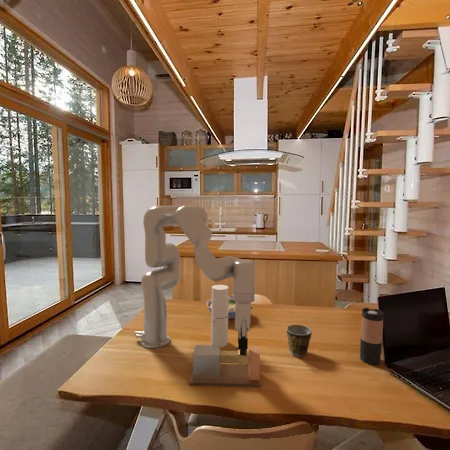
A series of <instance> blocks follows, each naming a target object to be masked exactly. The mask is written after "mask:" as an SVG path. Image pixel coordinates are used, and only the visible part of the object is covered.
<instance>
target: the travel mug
mask: <svg viewBox="0 0 450 450" xmlns="http://www.w3.org/2000/svg"><path fill="white" fill-rule="evenodd" d="M360 326H361V327H360V339H359V340H360V342H359V343H360V345H359V347H360V348H359V358H360V361H361V360H362V361H361V362H363V361H364V362H365V363H364V362H363V363H364V364H366V363H368V364H367V365H369V364H372V365H371V366H378V365H380V364H379V363H381V356H382V348H383V347H382V345H383V335H384V334H383V332H384V329H383V328H384V311H383V310H380V309H377V308H374V309H370V308H369V307H365V308H362V311H361V325H360ZM377 364H378V365H377Z"/></svg>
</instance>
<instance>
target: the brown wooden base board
mask: <svg viewBox="0 0 450 450" xmlns="http://www.w3.org/2000/svg"><path fill="white" fill-rule="evenodd" d="M220 351H221V347H220V345H212V344H195V347H194V350H193V355H192V357H193V359H192V360H193V361H192V369H191V373H190V378H189V382H188V385H189V386H195V387H196V386H198V387H200V386H201V387H229V388H230V387H234V388H235V387H237V388H261V385H262V384H261V379H260V378H259V380H250V377H249V364H230V363H220Z"/></svg>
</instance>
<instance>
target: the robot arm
mask: <svg viewBox="0 0 450 450" xmlns="http://www.w3.org/2000/svg"><path fill="white" fill-rule="evenodd" d="M143 215H144V216H143V230H144V236H145V238H144V239H145V240H144V242H145V243H144V255H145V256H144V258H145V259H144V262H145V264H146V266H147V267H149V268H151V269H153V268H154V269H153V270H150V271H148V272H146V273H145V274H144V275H143V276H142V277H141V280H140V283H141V289H142V295H143V330H142V331H140V330H138V331H137V330H135V331H134V336H135V339H140V345H141V346H142V347H144V348H147V349H159V348H162V347H165V346H167V345H168V344H169V343H170V342H171V337H170V335H168V333H167V332H168V331H167V330H168V329H167V324H168V323H167V318H168V317H167V316H168V315H167V299H166V297H165V295H164V293H163V292H164V291H166V290H169V289H172V288H174V287H176V286H177V285H178V284H179V282H180V272H181V271H180V269H181V267H180V266H181V263H180V262H181V257H180V255H181V254H180V251H179V250H180V249H179V248H178V247H177V245H176V244H174V243H169V242H167V241H166V240H167V239H166V237H167V235H166V233H165V230H164V228H163V227H174V226H178V227H179V228H180V229H181V231H182V232H183V233H184V234H185V236H186V237H187V238H188V239H189V241H190V242H191V244H192V245H193V254H194V258H195V262H196V263H197V266H198V268H200V270H201V271H202V273H203V274H204V275H205V276H206V277H207V278H208V279H209V280H211V281H213V282H221V281H224V280H226V279H229V278H233V279H232V296H233V300H234V301H235V302H236V304H235V318H234V329H235V332H238V333H237V345H238V347H237V348H238V349H239V350H247V351H248V350H249V346H248V345H249V343H248V342H249V341H248V340H249V339H248V332H250V330H251V329H250V328H251V316H252V315H251V314H252V313H251V312H252V311H251V310H252V309H251V307H252V303H253V302H255V300H256V299H255V295H256V292H255V291H256V288H255V287H256V262H254V260H251V259H244V258H243V259H242V258H239V257H236V256H232V255H228V256H223V257H219V258H216V257H215V255H214V254H213V253H212V252H211V250H210V248H209V246H208V242H209V241H210V240H211V239H212V236H213V232H212V230H211V229H210V227H209V226H208V225H207V221H208V217H209V215H208V212H207V210H205V208H204V207H202V206H200V205H157V206H153V207H150V208H148V209H147V210H146V211H145V213H144V214H143ZM166 242H167V243H166ZM161 267H162V268H161ZM155 268H157V269H155ZM240 328H242V329H240ZM241 332H242V333H241ZM238 349H237V350H238Z"/></svg>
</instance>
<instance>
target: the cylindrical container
mask: <svg viewBox="0 0 450 450" xmlns="http://www.w3.org/2000/svg"><path fill="white" fill-rule="evenodd" d="M228 294H229V286H228V285H227V284H226V285H225V284H214V285H212V286H211V299H212V313H211V321H210V322H211V325H210V327H211V329H210V330H211V331H210V332H211V334H210V335H211V336H210V338H211V339H210V341H211V342H210V345H220V348H224V347H226V346H228V344H229V343H228V340H229V338H228V337H229V335H228V334H229V319H228V296H229V295H228Z"/></svg>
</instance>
